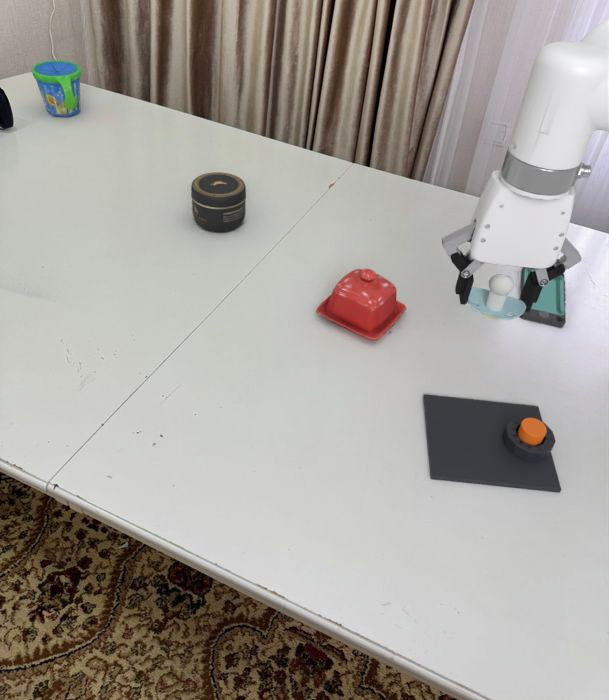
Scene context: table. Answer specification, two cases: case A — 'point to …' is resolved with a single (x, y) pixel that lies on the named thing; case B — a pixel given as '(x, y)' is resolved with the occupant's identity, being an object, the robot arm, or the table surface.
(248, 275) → the table surface
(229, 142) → the table surface
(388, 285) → the butter dish
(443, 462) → the dark grey flat plate
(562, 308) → the smartphone
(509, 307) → the pacifier
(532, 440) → the button
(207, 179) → the jar
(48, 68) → the snack cup
